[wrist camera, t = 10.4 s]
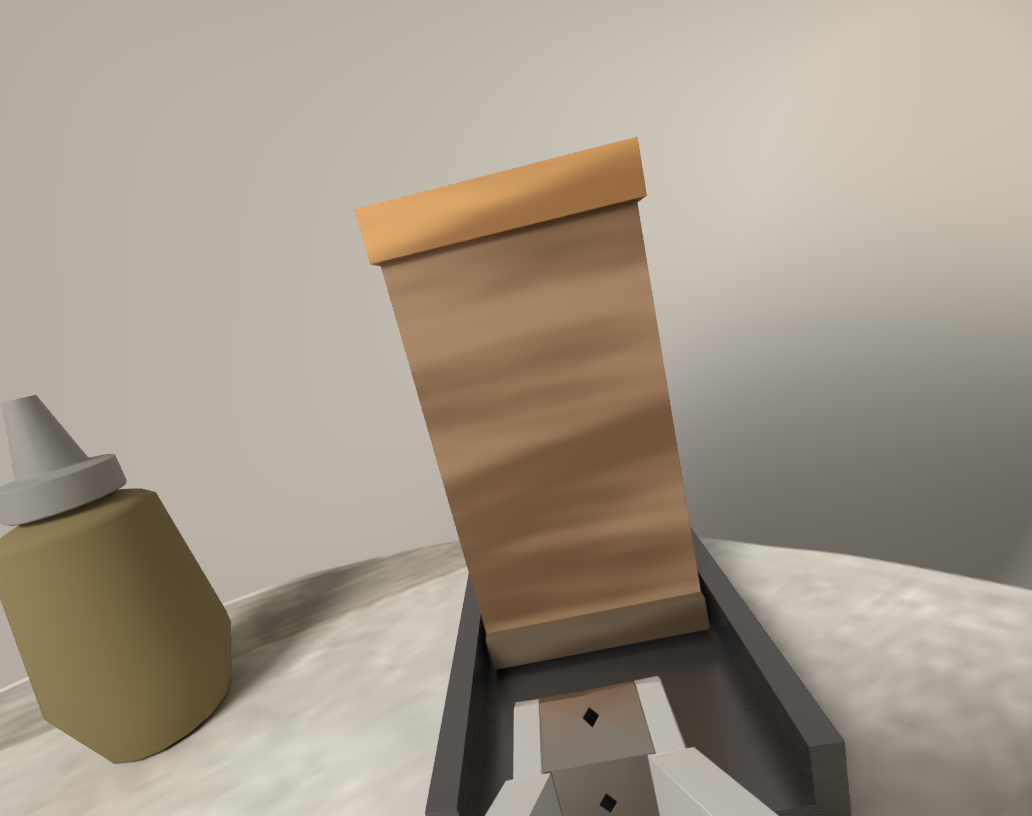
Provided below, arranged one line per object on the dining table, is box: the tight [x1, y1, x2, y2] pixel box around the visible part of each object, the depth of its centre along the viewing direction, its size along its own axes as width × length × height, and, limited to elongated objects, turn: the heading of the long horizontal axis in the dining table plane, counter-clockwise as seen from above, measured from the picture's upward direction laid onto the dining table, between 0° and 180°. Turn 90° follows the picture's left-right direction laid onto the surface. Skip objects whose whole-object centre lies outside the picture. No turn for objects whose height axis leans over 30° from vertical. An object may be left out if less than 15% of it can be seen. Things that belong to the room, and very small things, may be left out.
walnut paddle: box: [354, 137, 710, 670], centre depth 22 cm, size 4×11×21 cm, turn 89°
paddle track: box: [425, 527, 851, 816], centre depth 21 cm, size 13×13×3 cm
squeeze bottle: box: [0, 395, 231, 764], centre depth 24 cm, size 8×8×18 cm
